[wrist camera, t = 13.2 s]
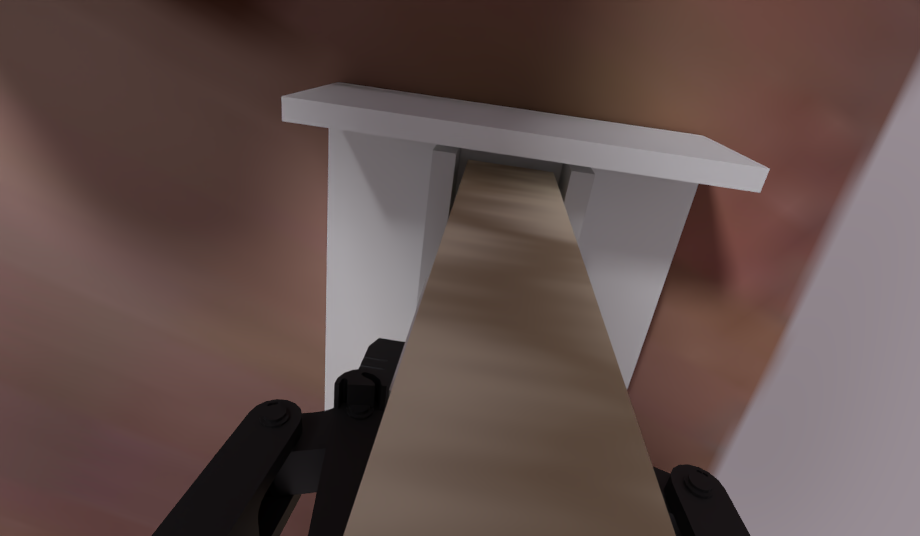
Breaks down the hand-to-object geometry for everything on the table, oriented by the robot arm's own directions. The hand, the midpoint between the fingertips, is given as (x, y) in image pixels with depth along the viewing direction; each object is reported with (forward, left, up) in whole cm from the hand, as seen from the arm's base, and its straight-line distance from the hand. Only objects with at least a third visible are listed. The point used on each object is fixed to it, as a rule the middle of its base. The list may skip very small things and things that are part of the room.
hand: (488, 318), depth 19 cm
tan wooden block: (0, 0, -4) cm, 4 cm away
